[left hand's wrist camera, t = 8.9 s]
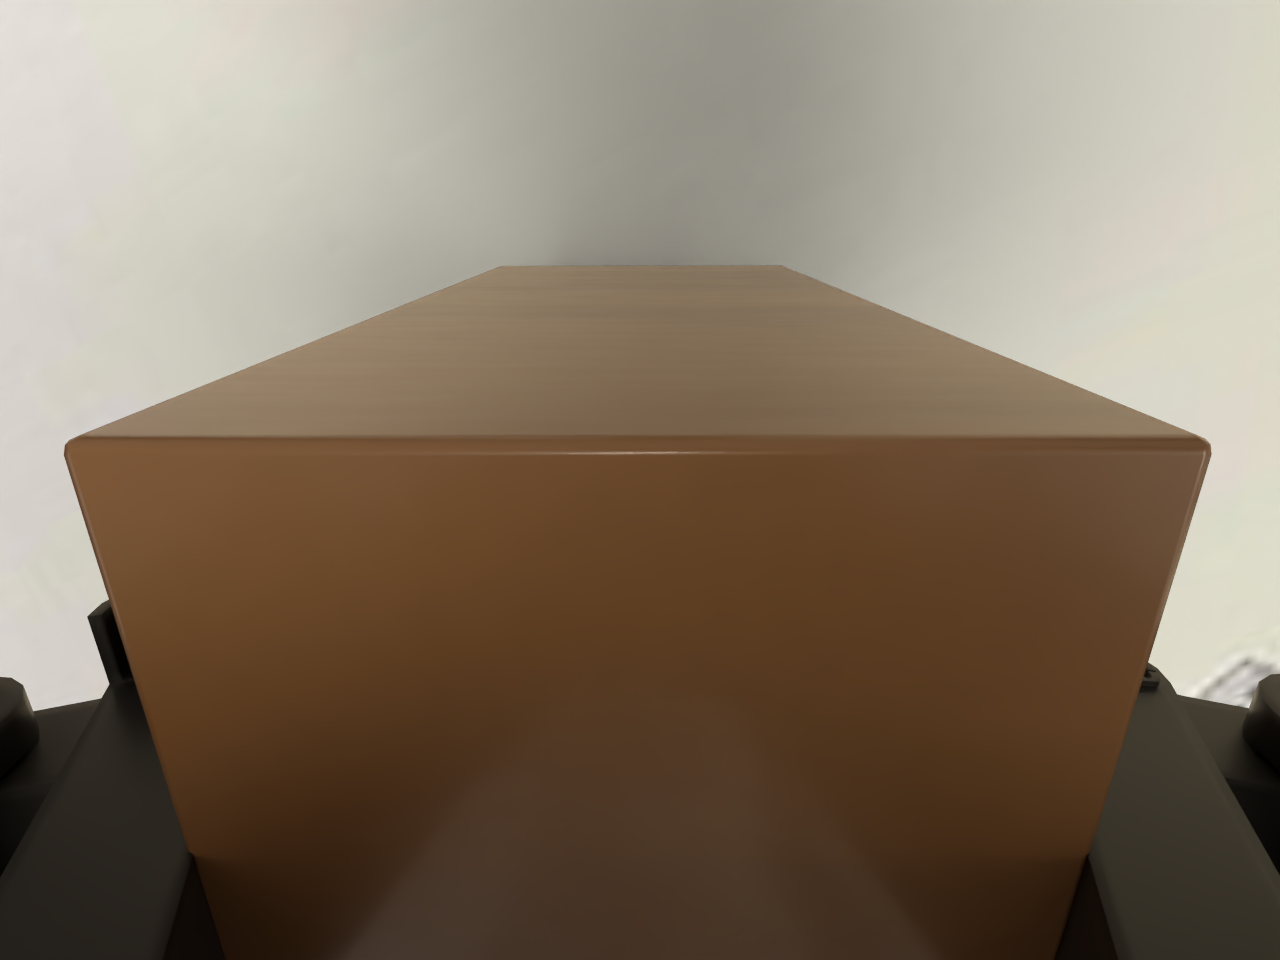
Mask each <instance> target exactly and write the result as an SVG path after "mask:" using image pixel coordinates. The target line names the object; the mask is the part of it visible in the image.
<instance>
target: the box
mask: <svg viewBox="0 0 1280 960" xmlns="http://www.w3.org/2000/svg"><path fill="white" fill-rule="evenodd" d="M64 457H65V460H66V463H67V466H68V469H69V473H70V476H71V479H72V482H73V486H74V489H75V492H76V495H77V498H78V502H79V505H80V508H81V511H82V514H83V518H84V521H85V524H86V527H87V530H88V534H89V537H90V540H91V543H92V546H93V550H94V553H95V556H96V559H97V562H98V566H99V569H100V572H101V575H102V578H103V582H104V585H105V588H106V591H107V594H108V598H109V601H110V604H111V607H112V610H113V614H114V617H115V620H116V623H117V626H118V630H119V633H120V636H121V639H122V643H123V646H124V649H125V652H126V655H127V659H128V662H129V665H130V668H131V671H132V675H133V678H134V681H135V684H136V687H137V691H138V694H139V697H140V700H141V703H142V707H143V710H144V713H145V716H146V719H147V723H148V726H149V729H150V732H151V735H152V739H153V742H154V745H155V748H156V751H157V755H158V758H159V761H160V764H161V767H162V771H163V774H164V777H165V780H166V783H167V787H168V790H169V793H170V796H171V800H172V803H173V806H174V809H175V812H176V816H177V819H178V822H179V825H180V828H181V832H182V835H183V838H184V841H185V844H186V848H187V851H188V852H190V853H192V854H193V856H194V859H195V862H196V866H197V869H198V872H199V875H200V879H201V882H202V885H203V888H204V892H205V895H206V898H207V901H208V905H209V908H210V911H211V914H212V917H213V921H214V924H215V927H216V930H217V934H218V937H219V940H220V943H221V947H222V950H223V953H224V956H225V960H1055V959H1056V956H1057V952H1058V949H1059V946H1060V943H1061V939H1062V936H1063V933H1064V930H1065V926H1066V923H1067V920H1068V917H1069V913H1070V910H1071V907H1072V904H1073V900H1074V897H1075V894H1076V891H1077V887H1078V884H1079V881H1080V878H1081V874H1082V871H1083V868H1084V865H1085V861H1086V858H1087V855H1088V854H1089V853H1090V850H1091V847H1092V844H1093V840H1094V837H1095V834H1096V830H1097V827H1098V824H1099V821H1100V817H1101V814H1102V811H1103V808H1104V804H1105V801H1106V798H1107V794H1108V791H1109V788H1110V785H1111V781H1112V778H1113V775H1114V772H1115V768H1116V765H1117V762H1118V758H1119V755H1120V752H1121V749H1122V745H1123V742H1124V739H1125V736H1126V732H1127V729H1128V726H1129V722H1130V719H1131V716H1132V713H1133V709H1134V706H1135V703H1136V700H1137V696H1138V693H1139V690H1140V686H1141V683H1142V680H1143V677H1144V673H1145V670H1146V667H1147V664H1148V660H1149V657H1150V654H1151V650H1152V647H1153V644H1154V641H1155V637H1156V634H1157V631H1158V628H1159V624H1160V621H1161V618H1162V614H1163V611H1164V608H1165V605H1166V601H1167V598H1168V595H1169V592H1170V588H1171V585H1172V582H1173V578H1174V575H1175V572H1176V569H1177V565H1178V562H1179V559H1180V556H1181V552H1182V549H1183V546H1184V543H1185V539H1186V536H1187V533H1188V529H1189V526H1190V523H1191V520H1192V516H1193V513H1194V510H1195V507H1196V503H1197V500H1198V497H1199V493H1200V490H1201V487H1202V484H1203V480H1204V477H1205V474H1206V471H1207V467H1208V464H1209V461H1210V457H1211V446H1210V443H1209V442H1208V441H1207V440H1206V439H1204V438H1202V437H1200V436H1197V435H1195V434H1193V433H1190V432H1188V431H1185V430H1183V429H1181V428H1178V427H1176V426H1173V425H1171V424H1168V423H1166V422H1163V421H1161V420H1158V419H1156V418H1154V417H1151V416H1149V415H1146V414H1144V413H1141V412H1139V411H1136V410H1134V409H1132V408H1129V407H1127V406H1124V405H1122V404H1119V403H1117V402H1114V401H1112V400H1109V399H1107V398H1105V397H1102V396H1100V395H1097V394H1095V393H1092V392H1090V391H1087V390H1085V389H1083V388H1080V387H1078V386H1075V385H1073V384H1070V383H1068V382H1065V381H1063V380H1060V379H1058V378H1056V377H1053V376H1051V375H1048V374H1046V373H1043V372H1041V371H1038V370H1036V369H1034V368H1031V367H1029V366H1026V365H1024V364H1021V363H1019V362H1016V361H1014V360H1011V359H1009V358H1007V357H1004V356H1002V355H999V354H997V353H994V352H992V351H989V350H987V349H984V348H982V347H980V346H977V345H975V344H972V343H970V342H967V341H965V340H962V339H960V338H958V337H955V336H953V335H950V334H948V333H945V332H943V331H940V330H938V329H935V328H933V327H931V326H928V325H926V324H923V323H921V322H918V321H916V320H913V319H911V318H909V317H906V316H904V315H901V314H899V313H896V312H894V311H891V310H889V309H886V308H884V307H882V306H879V305H877V304H874V303H872V302H869V301H867V300H864V299H862V298H860V297H857V296H855V295H852V294H850V293H847V292H845V291H842V290H840V289H837V288H835V287H833V286H830V285H828V284H825V283H823V282H820V281H818V280H815V279H813V278H810V277H808V276H806V275H803V274H801V273H798V272H796V271H793V270H791V269H788V268H786V267H784V266H500V267H497V268H495V269H492V270H490V271H487V272H485V273H482V274H480V275H477V276H475V277H472V278H470V279H467V280H465V281H462V282H460V283H458V284H455V285H453V286H450V287H448V288H445V289H443V290H440V291H438V292H435V293H433V294H430V295H428V296H425V297H423V298H420V299H418V300H415V301H413V302H410V303H408V304H405V305H403V306H400V307H398V308H395V309H393V310H390V311H388V312H385V313H383V314H380V315H378V316H375V317H373V318H370V319H368V320H365V321H363V322H361V323H358V324H356V325H353V326H351V327H348V328H346V329H343V330H341V331H338V332H336V333H333V334H331V335H328V336H326V337H323V338H321V339H318V340H316V341H313V342H311V343H308V344H306V345H303V346H301V347H298V348H296V349H293V350H291V351H288V352H286V353H283V354H281V355H278V356H276V357H273V358H271V359H268V360H266V361H264V362H261V363H259V364H256V365H254V366H251V367H249V368H246V369H244V370H241V371H239V372H236V373H234V374H231V375H229V376H226V377H224V378H221V379H219V380H216V381H214V382H211V383H209V384H206V385H204V386H201V387H199V388H196V389H194V390H191V391H189V392H186V393H184V394H181V395H179V396H176V397H174V398H171V399H169V400H166V401H164V402H162V403H159V404H157V405H154V406H152V407H149V408H147V409H144V410H142V411H139V412H137V413H134V414H132V415H129V416H127V417H124V418H122V419H119V420H117V421H114V422H112V423H109V424H107V425H104V426H102V427H99V428H97V429H94V430H92V431H89V432H87V433H84V434H82V435H80V436H77V437H75V438H73V439H71V440H69V441H68V442H67V443H66V445H65V450H64Z"/></svg>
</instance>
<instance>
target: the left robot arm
mask: <svg viewBox="0 0 1280 960" xmlns="http://www.w3.org/2000/svg"><path fill="white" fill-rule="evenodd" d="M88 620H89V623H90V626H91V629H92V632H93V635H94V638H95V641H96V644H97V647H98V650H99V653H100V656H101V659H102V662H103V666H104V669H105V672H106V675H107V678H108V681H109V686H108V688H107V690H106V692H105V693H104V695H103V697H102V698H101V699H97V700H92V701H86V702H81V703H76V704H70V705H65V706H60V707H54V708H49V709H44V710H39V711H33V710H32V707H31V705H30V702H29V699H28V697H27V694H26V692H25V689H24V687H23V685H22V684H20V683H19V682H17V681H15V680H14V679H12V678H6V677H0V960H225V956H224V953H223V950H222V947H221V943H220V940H219V937H218V934H217V930H216V927H215V924H214V921H213V917H212V914H211V911H210V908H209V905H208V901H207V898H206V895H205V892H204V888H203V885H202V882H201V879H200V875H199V872H198V869H197V866H196V862H195V859H194V856H193V854H192V853H190V852H188V851H187V848H186V844H185V841H184V838H183V835H182V832H181V828H180V825H179V822H178V819H177V816H176V812H175V809H174V806H173V803H172V800H171V796H170V793H169V790H168V787H167V783H166V780H165V777H164V774H163V771H162V767H161V764H160V761H159V758H158V755H157V751H156V748H155V745H154V742H153V739H152V735H151V732H150V729H149V726H148V723H147V719H146V716H145V713H144V710H143V707H142V703H141V700H140V697H139V694H138V691H137V687H136V684H135V681H134V678H133V675H132V671H131V668H130V665H129V662H128V659H127V655H126V652H125V649H124V646H123V643H122V639H121V636H120V633H119V630H118V626H117V623H116V620H115V617H114V614H113V610H112V607H111V604H110V601H109V600H107V601H105V602H104V603H102V604H101V605H100V606H99V607H97V608H96V609H95V610H94V611H93V612H92V613H91V614H90V615H89V616H88ZM1055 960H1280V674H1272V675H1269V676H1268V677H1266V678H1265V679H1263V680H1261V681H1260V682H1259V683H1258V686H1257V689H1256V691H1255V694H1254V696H1253V699H1252V702H1251V704H1250V707H1249V708H1244V707H1239V706H1233V705H1228V704H1223V703H1217V702H1212V701H1207V700H1201V699H1196V698H1191V697H1185V696H1181V695H1177V694H1176V692H1175V690H1174V688H1173V687H1172V685H1171V683H1170V682H1169V681H1168V680H1167V679H1166V678H1165V676H1164V675H1163V674H1162V673H1161V672H1160V671H1159V670H1158V669H1157V668H1156V667H1154V666H1153V665H1151V664H1150V663H1148V664H1147V667H1146V670H1145V673H1144V677H1143V680H1142V683H1141V686H1140V690H1139V693H1138V696H1137V700H1136V703H1135V706H1134V709H1133V713H1132V716H1131V719H1130V722H1129V726H1128V729H1127V732H1126V736H1125V739H1124V742H1123V745H1122V749H1121V752H1120V755H1119V758H1118V762H1117V765H1116V768H1115V772H1114V775H1113V778H1112V781H1111V785H1110V788H1109V791H1108V794H1107V798H1106V801H1105V804H1104V808H1103V811H1102V814H1101V817H1100V821H1099V824H1098V827H1097V830H1096V834H1095V837H1094V840H1093V844H1092V847H1091V850H1090V853H1089V854H1088V855H1087V858H1086V861H1085V865H1084V868H1083V871H1082V874H1081V878H1080V881H1079V884H1078V887H1077V891H1076V894H1075V897H1074V900H1073V904H1072V907H1071V910H1070V913H1069V917H1068V920H1067V923H1066V926H1065V930H1064V933H1063V936H1062V939H1061V943H1060V946H1059V949H1058V952H1057V956H1056V959H1055Z"/></svg>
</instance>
